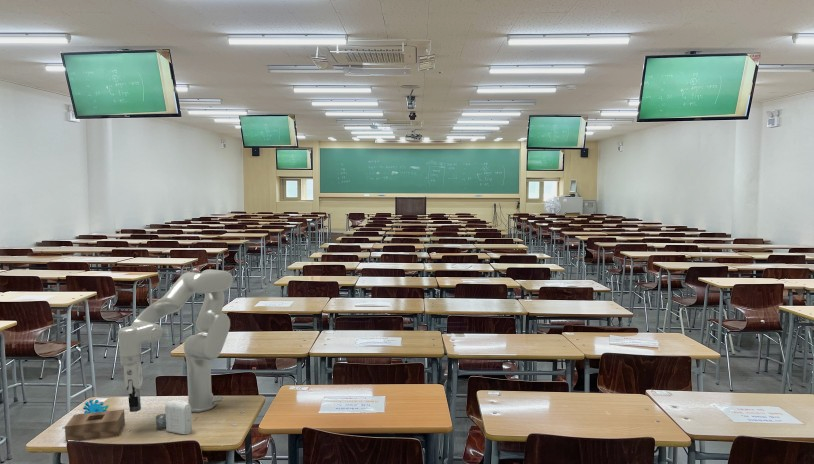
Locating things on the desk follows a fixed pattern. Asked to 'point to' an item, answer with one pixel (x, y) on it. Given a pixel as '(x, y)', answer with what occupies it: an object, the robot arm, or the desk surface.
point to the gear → (94, 407)
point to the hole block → (95, 425)
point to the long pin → (134, 409)
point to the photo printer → (178, 417)
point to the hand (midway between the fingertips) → (135, 404)
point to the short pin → (161, 422)
